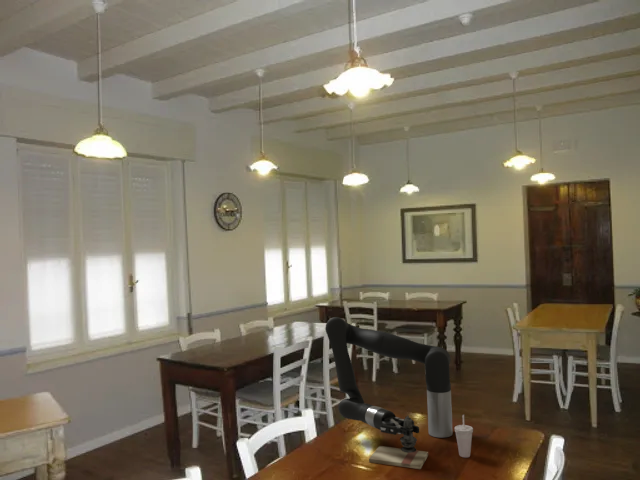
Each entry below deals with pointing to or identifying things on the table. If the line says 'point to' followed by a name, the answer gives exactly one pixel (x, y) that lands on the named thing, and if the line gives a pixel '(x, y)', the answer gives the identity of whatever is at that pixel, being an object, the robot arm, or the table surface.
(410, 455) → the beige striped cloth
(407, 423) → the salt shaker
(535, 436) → the table surface
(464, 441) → the smoothie
